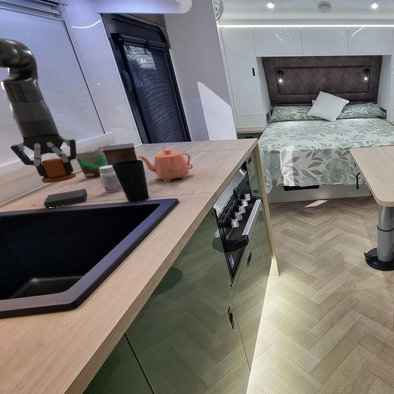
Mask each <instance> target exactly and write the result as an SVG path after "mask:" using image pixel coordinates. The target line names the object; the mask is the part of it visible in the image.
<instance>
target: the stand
mask: <svg viewBox="0 0 394 394" xmlns="http://www.w3.org/2000/svg"><path fill="white" fill-rule="evenodd" d="M87 198H88V192H87V189H86V188H82V189H76V190H70V191H65V192H58V193H53V194H48V195H47V197H46V198H45V200H44V201H43V205H44V207H45V209H46V208H49V207H55V208H57V207H56V206H60V207H63V206H62V205H65V206H70V205H75V204H80V203H86V202H87ZM49 209H50V208H49Z"/></svg>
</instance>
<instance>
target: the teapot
mask: <svg viewBox="0 0 394 394" xmlns="http://www.w3.org/2000/svg"><path fill="white" fill-rule="evenodd" d="M184 155H186V156H187V161H186V159H185V157H184ZM136 157H137V159H140V160H142V161H143V163H144V165H145V166H146V167H147V169H148V170H149V171H151V172H153V173H155V174H156V176H157V177H158V178H159V179H160V180H164V182H166V183H168V182H171V181H172V179H173V180H174V179H178V178H179V179H181V180H183V179H186V178H187V176H188V175H189V172H190V170H191V169H193V167H194V166H193V164H192V163H191V155H190V153H188V152H183V151H182V152H180V151H178V150H172V149H167V148H166V147H162V152H157V153H156V154H155V156H154V163H153V164H152V163H151V162H150V160H149V159H148V158H147V157H146V156H143V155H136Z"/></svg>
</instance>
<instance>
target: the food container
mask: <svg viewBox="0 0 394 394" xmlns="http://www.w3.org/2000/svg"><path fill="white" fill-rule="evenodd" d="M74 160H76V161H77V163H78V165H79V167H80V169H81V171H82V173H83V175H84V177H85V178H86V179H93V178H99V177H100V174H101V172H100V170H99V168H100V167H102V166H108V163H107V160H106V157H105V154H104V153H103V146H98V149H95V150H88V151H85V152H79V153H77V152H76V158H75V159H74ZM100 178H101V177H100Z"/></svg>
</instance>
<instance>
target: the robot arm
mask: <svg viewBox="0 0 394 394" xmlns="http://www.w3.org/2000/svg"><path fill="white" fill-rule="evenodd" d="M0 68H1V69H7V72H8V77H7V78H4V79H2V80H1V81H0V85H1V88H2V91H3V93H4V95H5V98H6V100H7V102H8V105H9V108H10V109H9V110H10V112H11V114H12V118H13V120H14V121H15V123H16V126H17V129H18V130H19V132H20V135H21V137H22V142H21V143H17V144H12V145H11V146H10V149H11V151H12V152H13V153H14V154H15V155H16V156H17V157H18V159H19V160H20V161H21V162H22V163H23V164H24V165H25V166H34V167H35V169H36V171H37V173H38V175H39V176H40V177H42V178H47V174H46V172H45V169H44V167H43V165H42V163H41V162H42V161H43V160H42V159H43V155H47V154H55V155H56V156H57V157H59V159H62V160H63V162H64V166H65V168H66V171H67V173H68V174H72V173H74V167H73V165H72V161H73V160H76V159H75V158H76V154H77V140H76V139H75V138H70V139H69V138H64V137H63V136H61V134H60V133H59V129H58V127H57V124H56V122H55V120H54V118H53V114H52V113H51V110H50V108H49V106H48V104H47V102H46V101H45V98H44V95H43V92H42V90H41V88H40V85H39V72H38V64H37V60H36V57H35V55H34V53H33V51H32V50H31V49H30V47H28V45H26V44H24V43H23V42H21V41H18V40H15V39H8V38H2V37H0ZM64 143H65V144H66V145H65V146H67V147H69V155H67V154H66V153H65V151H64V150H63V149H62V148H61V147H62V146H63V144H64ZM25 147H26V148H28V149H29V150H31V151H32V152H33V159H31V158H30V157H29V156H28V155H27V153H25V151H26V148H25Z"/></svg>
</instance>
